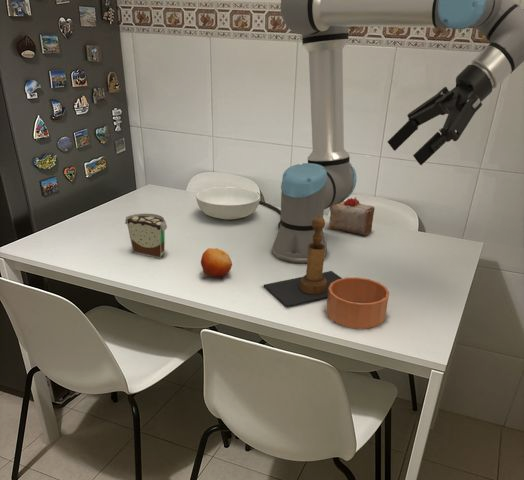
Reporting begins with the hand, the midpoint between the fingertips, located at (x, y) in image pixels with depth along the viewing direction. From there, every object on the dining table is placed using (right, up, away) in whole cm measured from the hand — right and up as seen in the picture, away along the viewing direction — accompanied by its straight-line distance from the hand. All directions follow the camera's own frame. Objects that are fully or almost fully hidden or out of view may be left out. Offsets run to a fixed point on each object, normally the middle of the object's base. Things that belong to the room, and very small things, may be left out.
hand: (403, 153), depth 115 cm
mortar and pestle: (-19, -29, +12) cm, 37 cm away
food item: (-4, -6, +49) cm, 50 cm away
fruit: (-43, -24, +19) cm, 53 cm away
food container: (-62, -16, +31) cm, 71 cm away
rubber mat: (-19, -29, +13) cm, 37 cm away
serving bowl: (-43, +1, +58) cm, 72 cm away
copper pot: (-10, -35, +3) cm, 37 cm away
